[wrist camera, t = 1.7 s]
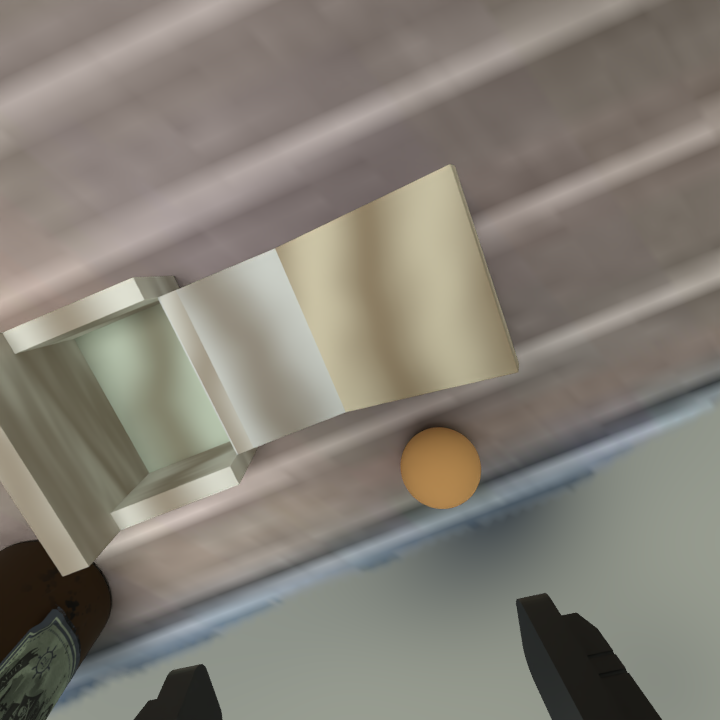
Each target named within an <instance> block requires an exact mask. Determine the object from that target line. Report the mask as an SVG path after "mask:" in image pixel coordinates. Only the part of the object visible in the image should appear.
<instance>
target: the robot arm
mask: <svg viewBox="0 0 720 720" xmlns="http://www.w3.org/2000/svg"><path fill="white" fill-rule="evenodd" d="M516 606H517V612H518V618H519V625H520V631H521V637H522V644H523V649H524V653H525V657H526V661H527V664H528V666H529V670H530V672H531V675H532V677H533V680H534V682H535V684H536V686H537V688H538V690H539V693H540V695H541V697H542V699H543V701H544V703H545V706H546V708H547V710H548V712H549V714H550V716H551V718H552V720H662V719H661V718H660V716H659V715H658V713H657V712H656V711H655V709H654V708H653V706H652V705H651V704H650V702H649V701H648V699H647V698H646V696H645V695H644V694H643V692H642V691H641V690H640V688H639V687H638V685H637V684H636V682H635V681H634V679H633V678H632V677H631V675H630V674H629V673H627V671H626V669H625V667H624V665H623V664H622V663H621V661H620V660H619V658H618V657H617V655H615V654H614V653H613V650H612V648H611V647H610V646H609V644H608V643H607V641H606V640H605V639H604V637H603V636H602V634H601V633H600V632H599V630H598V629H597V628H596V627H595V626H593V625H592V624H591V623H589V622H588V621H587V620H585V619H584V618H583V617H582V616H580V615H579V614H578V613H572V614H567V615H562V616H561V614H560V613H559V611H558V610H557V608H556V606H555V605H554V603H553V602H552V600H551V598H550V597H549V596H548V595H547V594H546V593H543V594H539V595H534V596H529V597H524V598H520V599H517V600H516ZM134 720H222V713H221V709H220V706H219V703H218V700H217V697H216V694H215V692H214V689H213V686H212V683H211V681H210V677H209V675H208V672H207V669H206V667H205V666H204V665H203V664H200V665H195V666H190V667H186V668H180V669H176V670H172V671H171V672H170V673H169V674H168V676H167V678H166V680H165V682H164V684H163V686H162V689H161V691H160V693H159V695H158V698H157V699H155V700H150V701H148V702H147V703H146V705H145V706H144V707H143V709H142V710H141V711H140V712H139V714H138V715H137V716H136V718H135V719H134Z"/></svg>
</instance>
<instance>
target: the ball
mask: <svg viewBox="0 0 720 720" xmlns="http://www.w3.org/2000/svg"><path fill="white" fill-rule="evenodd" d="M401 475H402V479H403V482H404V484H405V486H406V488H407V489H408V491H409V492H410V494H411V495H412V496H413V497H414V498H415V499H417V500H418V501H419V502H421V503H422V504H424V505H427V506H429V507H432V508H437V509H448V508H453V507H456V506H458V505H461V504H462V503H464V502H465V501H467V500H468V499H469V498H470V497H471V496H472V495H473V493H474V492H475V490H476V489H477V486H478V484H479V481H480V476H481V463H480V459H479V455H478V453H477V451H476V449H475V447H474V446H473V444H472V443H471V442H470V441H469V440H468V439H467V438H466V437H465V436H463V435H462V434H460V433H459V432H457V431H455V430H452V429H449V428H443V427H434V428H429V429H426V430H423V431H421V432H420V433H418V434H416V435H415V436H414V437H413V438H412V439H411V440H410V441H409V442H408V444H407V445H406V447H405V449H404V451H403V454H402V458H401Z"/></svg>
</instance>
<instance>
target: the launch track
mask: <svg viewBox="0 0 720 720" xmlns="http://www.w3.org/2000/svg"><path fill="white" fill-rule="evenodd" d="M518 370H519V362H518V359H517V356H516V353H515V350H514V347H513V344H512V341H511V338H510V335H509V331H508V328H507V325H506V322H505V319H504V316H503V313H502V310H501V307H500V304H499V301H498V298H497V295H496V292H495V288H494V285H493V282H492V279H491V276H490V273H489V270H488V267H487V264H486V261H485V258H484V255H483V252H482V249H481V245H480V242H479V239H478V236H477V233H476V230H475V227H474V224H473V221H472V218H471V215H470V212H469V209H468V205H467V202H466V199H465V196H464V193H463V190H462V187H461V184H460V181H459V178H458V175H457V172H456V169H455V166H454V165H451V164H449V165H447V166H445V167H443V168H441V169H439V170H437V171H435V172H433V173H431V174H429V175H427V176H424V177H422V178H420V179H418V180H416V181H414V182H412V183H410V184H408V185H406V186H404V187H402V188H400V189H398V190H395V191H393V192H391V193H389V194H387V195H385V196H383V197H381V198H379V199H377V200H375V201H373V202H371V203H368V204H366V205H364V206H362V207H360V208H358V209H356V210H354V211H352V212H350V213H348V214H346V215H344V216H341V217H339V218H337V219H335V220H333V221H331V222H329V223H327V224H325V225H323V226H321V227H319V228H317V229H314V230H312V231H310V232H308V233H306V234H304V235H302V236H300V237H298V238H296V239H294V240H292V241H290V242H288V243H285V244H283V245H281V246H279V247H277V248H275V249H273V250H270V251H268V252H266V253H263V254H261V255H258V256H256V257H254V258H251V259H249V260H246V261H244V262H242V263H239V264H237V265H234V266H232V267H230V268H227V269H225V270H223V271H220V272H218V273H215V274H213V275H211V276H208V277H206V278H203V279H201V280H199V281H196V282H194V283H191V284H189V285H187V286H184V287H182V288H179V286H178V284H177V282H176V280H175V278H174V276H158V277H133V278H131V279H128V280H126V281H124V282H121V283H119V284H117V285H114V286H112V287H109V288H107V289H105V290H102V291H100V292H98V293H95V294H93V295H91V296H88V297H86V298H83V299H81V300H79V301H76V302H74V303H72V304H69V305H67V306H65V307H62V308H60V309H57V310H55V311H53V312H50V313H48V314H46V315H43V316H41V317H39V318H36V319H34V320H31V321H29V322H27V323H24V324H22V325H20V326H17V327H15V328H13V329H10V330H8V331H5V332H3V333H0V481H1V483H2V484H3V486H4V487H5V489H6V490H7V492H8V493H9V495H10V497H11V498H12V500H13V501H14V503H15V504H16V506H17V507H18V509H19V510H20V512H21V513H22V515H23V517H24V518H25V520H26V521H27V523H28V524H29V526H30V527H31V529H32V530H33V532H34V533H35V535H36V536H37V538H38V540H39V541H40V543H41V544H42V546H43V547H44V549H45V550H46V552H47V553H48V555H49V556H50V558H51V560H52V561H53V563H54V564H55V566H56V567H57V569H58V570H59V572H60V573H61V575H62V576H66V575H68V574H71V573H73V572H76V571H79V570H81V569H84V568H87V567H89V566H90V565H91V564H92V563H93V561H94V560H95V559H96V558H97V557H98V556H99V554H100V553H101V552H102V551H103V550H104V549H105V548H106V546H107V545H108V544H109V543H110V542H111V541H112V540H113V538H114V537H115V536H116V535H117V534H118V533H119V532H120V530H123V529H125V528H128V527H131V526H133V525H136V524H138V523H141V522H143V521H146V520H149V519H151V518H154V517H156V516H159V515H162V514H164V513H167V512H169V511H172V510H174V509H177V508H180V507H182V506H185V505H187V504H190V503H193V502H195V501H198V500H200V499H203V498H205V497H208V496H211V495H213V494H216V493H218V492H221V491H224V490H226V489H229V488H231V487H234V486H236V485H239V484H240V482H241V480H242V478H243V476H244V474H245V472H246V470H247V468H248V466H249V464H250V462H251V460H252V458H253V456H254V454H255V452H256V450H257V448H258V446H261V445H263V444H266V443H268V442H271V441H273V440H276V439H279V438H281V437H284V436H286V435H289V434H291V433H294V432H296V431H299V430H302V429H304V428H307V427H309V426H312V425H314V424H317V423H319V422H322V421H325V420H327V419H330V418H332V417H335V416H337V415H340V414H342V413H345V412H349V411H353V410H357V409H362V408H366V407H370V406H375V405H379V404H383V403H388V402H392V401H396V400H401V399H405V398H409V397H413V396H418V395H422V394H426V393H431V392H435V391H439V390H444V389H448V388H452V387H457V386H461V385H465V384H470V383H474V382H478V381H482V380H487V379H491V378H495V377H500V376H504V375H508V374H513V373H517V372H518Z"/></svg>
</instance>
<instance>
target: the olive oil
mask: <svg viewBox="0 0 720 720" xmlns="http://www.w3.org/2000/svg"><path fill="white" fill-rule="evenodd" d="M110 608H111V599H110V593H109V589H108V586H107V584H106V582H105V580H104V578H103V576H102V575H101V573H100V572H99V570H98V569H97V568H96V567H95V566H94V565H93V564H91V565H90V566H89V567H87V568H84V569H81V570H79V571H76V572H73V573H71V574H68V575H66V576H62V575H61V573H60V572H59V570H58V569H57V567H56V566H55V564H54V563H53V561H52V560H51V558H50V556H49V555H48V553H47V552H46V550H45V549H44V547H43V546H42V544H41V543H40V542H38V541H35V542H24V543H19V544H15V545H12V546H10V547H7V548H5V549H3V550H2V551H0V720H46V719H47V717H48V715H49V714H50V712H51V711H52V709H53V707H54V706H55V704H56V702H57V701H58V699H59V698H60V696H61V695H62V693H63V691H64V690H65V688H66V687H67V685H68V684H69V682H70V680H71V679H72V677H73V676H74V674H75V672H76V670H77V669H78V667H79V666H80V664H81V663H82V661H83V660H84V658H85V656H86V655H87V653H88V652H89V650H90V649H91V647H92V646H93V644H94V642H95V641H96V639H97V638H98V636H99V635H100V633H101V631H102V630H103V628H104V626H105V624H106V622H107V620H108V617H109V614H110Z"/></svg>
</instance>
